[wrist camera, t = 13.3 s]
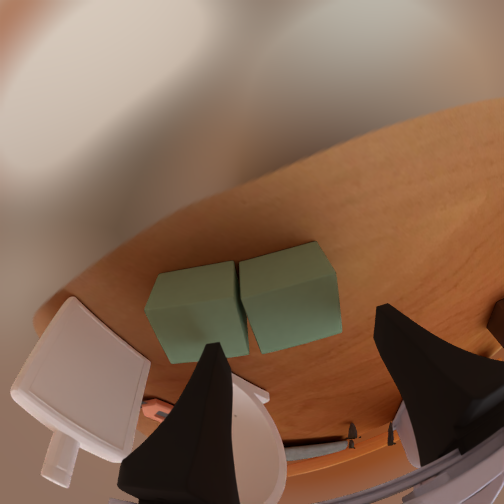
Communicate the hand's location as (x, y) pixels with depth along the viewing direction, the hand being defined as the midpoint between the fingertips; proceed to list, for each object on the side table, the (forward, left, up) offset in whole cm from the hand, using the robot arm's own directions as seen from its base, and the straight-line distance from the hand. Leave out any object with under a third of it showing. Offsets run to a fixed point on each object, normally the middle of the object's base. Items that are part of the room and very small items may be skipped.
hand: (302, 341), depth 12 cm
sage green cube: (0, 0, -5) cm, 5 cm away
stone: (-23, -1, -3) cm, 23 cm away
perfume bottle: (-2, +13, -5) cm, 14 cm away
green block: (0, +5, -5) cm, 7 cm away
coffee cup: (-10, +5, -5) cm, 13 cm away
